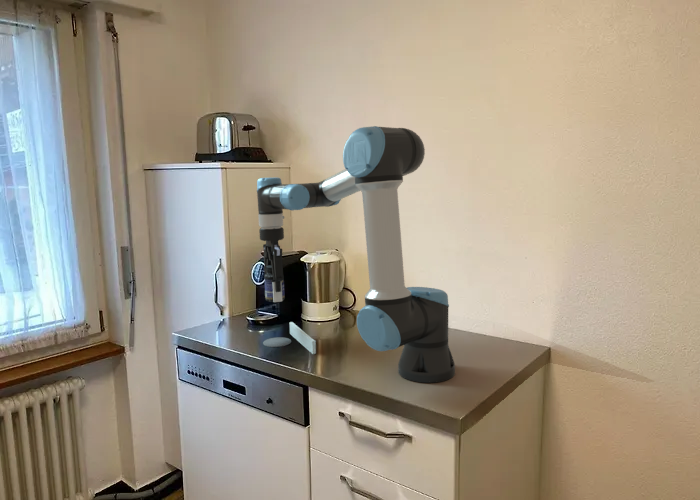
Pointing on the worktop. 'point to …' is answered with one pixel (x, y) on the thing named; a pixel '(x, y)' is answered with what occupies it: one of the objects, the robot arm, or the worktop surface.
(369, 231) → the robot arm
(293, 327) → the divider wall
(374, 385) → the worktop surface
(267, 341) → the coaster
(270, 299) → the pill bottle
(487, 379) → the worktop surface
